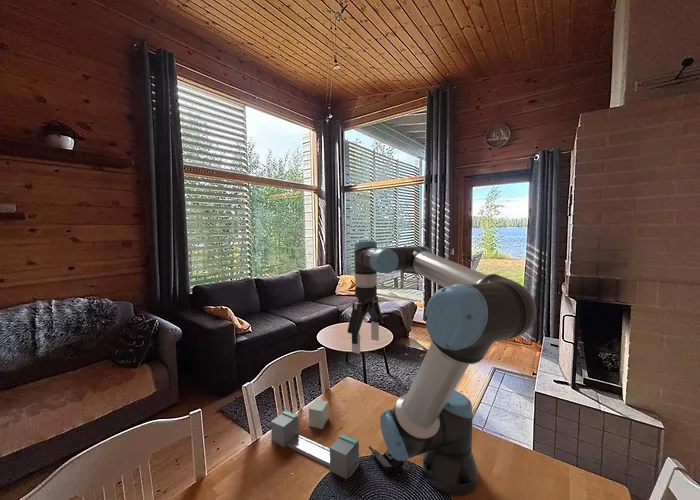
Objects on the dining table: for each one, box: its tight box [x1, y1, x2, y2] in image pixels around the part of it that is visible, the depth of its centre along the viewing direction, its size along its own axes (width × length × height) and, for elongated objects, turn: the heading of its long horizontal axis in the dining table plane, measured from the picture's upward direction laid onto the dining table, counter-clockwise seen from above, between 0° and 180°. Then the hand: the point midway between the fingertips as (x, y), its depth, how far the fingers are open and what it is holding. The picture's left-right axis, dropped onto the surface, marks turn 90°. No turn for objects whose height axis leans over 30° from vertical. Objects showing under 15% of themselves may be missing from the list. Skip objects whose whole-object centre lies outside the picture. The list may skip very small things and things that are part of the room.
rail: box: [285, 434, 360, 478], centre depth 95 cm, size 30×5×1 cm, turn 58°
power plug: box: [368, 445, 405, 473], centre depth 91 cm, size 6×8×12 cm
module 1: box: [270, 410, 300, 448], centre depth 101 cm, size 6×7×7 cm
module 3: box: [329, 433, 360, 480], centre depth 89 cm, size 6×7×7 cm
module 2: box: [308, 399, 329, 430], centre depth 109 cm, size 5×6×7 cm
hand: (366, 346), depth 106 cm, fingers open, 13 cm apart
